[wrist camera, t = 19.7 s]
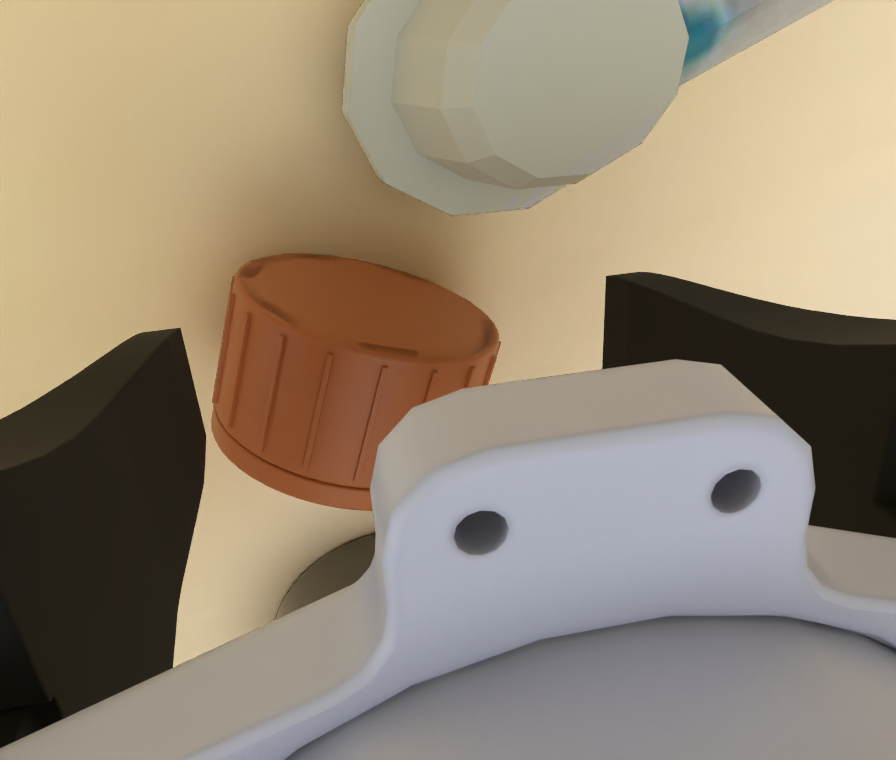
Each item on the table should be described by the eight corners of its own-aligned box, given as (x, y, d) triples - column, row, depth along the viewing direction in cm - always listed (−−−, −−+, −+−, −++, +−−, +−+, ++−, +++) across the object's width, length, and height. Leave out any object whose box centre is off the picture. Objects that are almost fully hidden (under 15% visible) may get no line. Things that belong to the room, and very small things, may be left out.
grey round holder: (223, 672, 24) (201, 907, 18) (368, 486, 22) (397, 683, 16) (429, 743, 27) (469, 964, 21) (573, 587, 25) (664, 784, 19)
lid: (552, 340, 17) (508, 469, 19) (368, 247, 20) (341, 365, 22) (377, 383, 13) (335, 549, 14) (172, 256, 16) (153, 404, 17)
